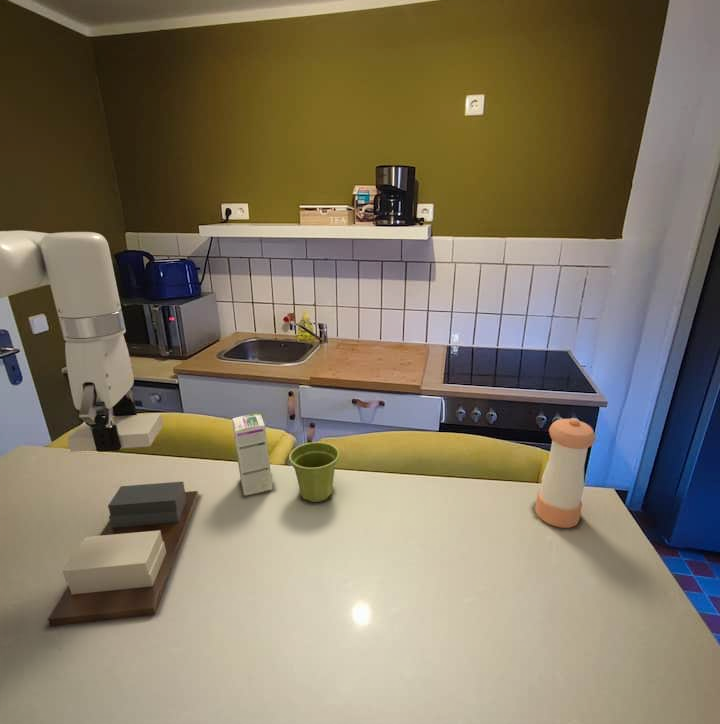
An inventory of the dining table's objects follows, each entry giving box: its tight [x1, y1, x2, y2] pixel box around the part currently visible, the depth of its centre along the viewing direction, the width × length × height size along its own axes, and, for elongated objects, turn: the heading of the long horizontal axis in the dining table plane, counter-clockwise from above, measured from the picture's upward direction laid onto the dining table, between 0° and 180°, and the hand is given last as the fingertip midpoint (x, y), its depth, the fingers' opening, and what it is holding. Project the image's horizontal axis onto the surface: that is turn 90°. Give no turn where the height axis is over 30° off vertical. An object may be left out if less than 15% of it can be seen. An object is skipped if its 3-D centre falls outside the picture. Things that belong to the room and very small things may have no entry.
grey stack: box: [107, 481, 186, 528], centre depth 75 cm, size 11×5×5 cm, turn 97°
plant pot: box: [288, 441, 340, 503], centre depth 82 cm, size 9×9×9 cm
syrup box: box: [231, 413, 273, 496], centre depth 83 cm, size 6×6×14 cm
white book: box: [66, 413, 164, 452], centre depth 65 cm, size 11×7×2 cm, turn 98°
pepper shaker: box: [534, 417, 596, 529], centre depth 74 cm, size 7×7×19 cm
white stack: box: [62, 530, 166, 594], centre depth 63 cm, size 11×7×4 cm, turn 97°
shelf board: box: [47, 490, 199, 626], centre depth 70 cm, size 14×26×1 cm, turn 7°
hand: (119, 436), depth 66 cm, fingers closed on white book, 6 cm apart
